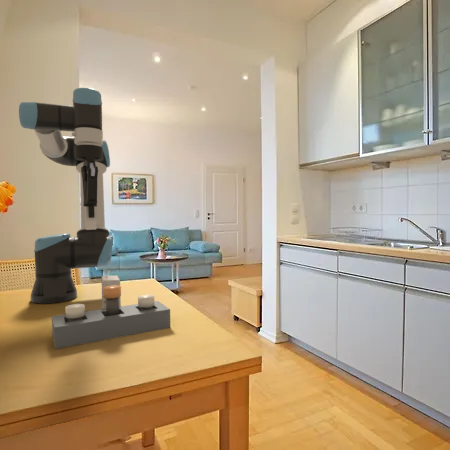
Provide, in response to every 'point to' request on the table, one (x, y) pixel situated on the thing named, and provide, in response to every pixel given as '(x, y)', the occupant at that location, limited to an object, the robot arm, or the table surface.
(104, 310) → the board
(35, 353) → the table surface
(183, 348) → the table surface
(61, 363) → the table surface
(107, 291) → the knob middle
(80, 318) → the knob
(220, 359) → the table surface
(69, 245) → the robot arm
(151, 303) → the knob
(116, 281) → the ink box
